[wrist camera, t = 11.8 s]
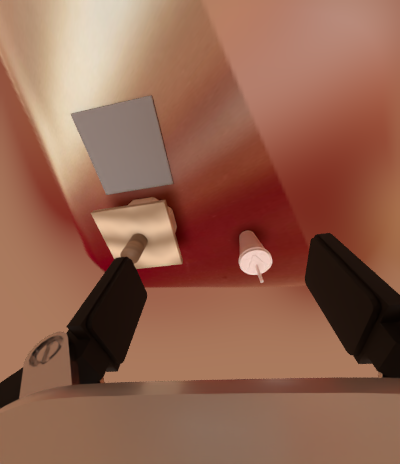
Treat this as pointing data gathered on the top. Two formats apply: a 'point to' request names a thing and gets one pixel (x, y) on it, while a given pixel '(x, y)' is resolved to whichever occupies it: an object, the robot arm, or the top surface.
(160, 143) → the mat
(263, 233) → the top surface
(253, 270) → the smoothie
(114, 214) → the lid
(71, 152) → the top surface
